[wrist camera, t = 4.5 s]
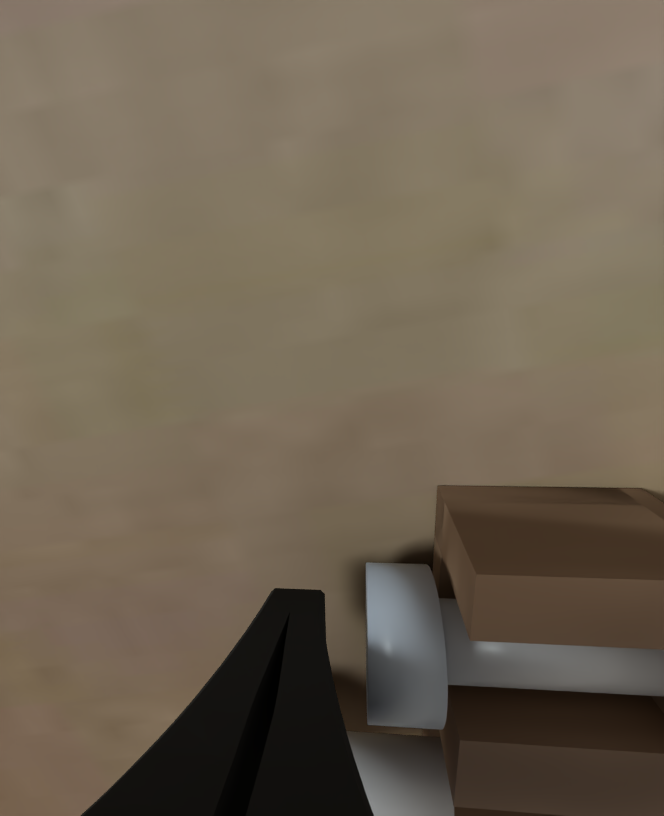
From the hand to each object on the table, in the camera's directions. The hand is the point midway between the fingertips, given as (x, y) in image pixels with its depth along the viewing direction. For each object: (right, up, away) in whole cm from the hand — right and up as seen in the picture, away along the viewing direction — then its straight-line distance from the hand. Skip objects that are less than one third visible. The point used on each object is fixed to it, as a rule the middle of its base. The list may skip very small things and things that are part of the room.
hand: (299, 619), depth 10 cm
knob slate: (+5, 0, +1) cm, 5 cm away
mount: (+7, -4, +3) cm, 8 cm away
